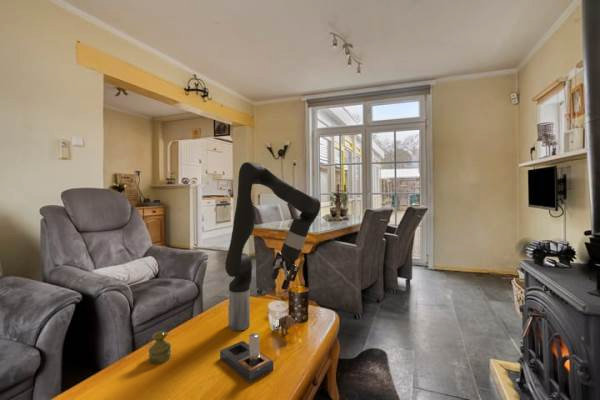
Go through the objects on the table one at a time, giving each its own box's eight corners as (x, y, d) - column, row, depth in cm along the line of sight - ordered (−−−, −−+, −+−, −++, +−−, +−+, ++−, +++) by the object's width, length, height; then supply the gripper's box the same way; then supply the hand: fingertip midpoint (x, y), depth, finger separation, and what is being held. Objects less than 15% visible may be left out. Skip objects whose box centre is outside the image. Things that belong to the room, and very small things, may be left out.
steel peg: (246, 369, 99) (246, 335, 99) (255, 365, 102) (255, 332, 101) (253, 374, 97) (253, 339, 96) (261, 369, 99) (261, 335, 99)
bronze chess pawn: (155, 352, 109) (155, 327, 109) (174, 353, 109) (174, 327, 109) (144, 364, 102) (144, 336, 102) (164, 365, 102) (164, 337, 101)
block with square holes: (220, 358, 106) (220, 349, 106) (242, 348, 113) (242, 339, 113) (249, 382, 92) (249, 372, 92) (273, 369, 99) (273, 360, 99)
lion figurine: (296, 336, 122) (296, 315, 122) (286, 340, 119) (286, 319, 119) (277, 323, 134) (278, 304, 134) (268, 326, 131) (268, 307, 130)
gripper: (277, 236, 113) (262, 274, 113) (294, 249, 101) (278, 292, 101) (292, 240, 117) (278, 277, 117) (311, 253, 105) (295, 294, 105)
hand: (278, 283), depth 109 cm, fingers open, 8 cm apart
